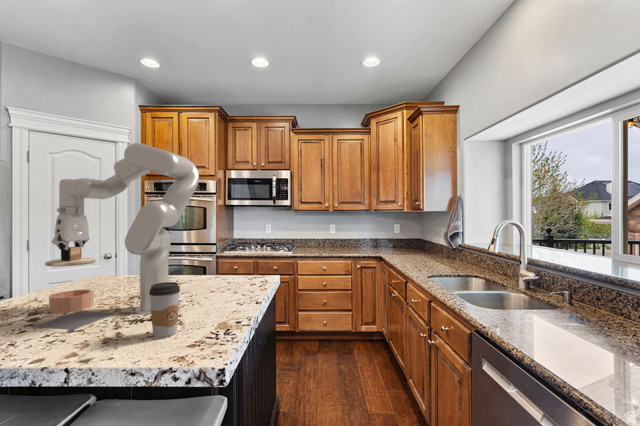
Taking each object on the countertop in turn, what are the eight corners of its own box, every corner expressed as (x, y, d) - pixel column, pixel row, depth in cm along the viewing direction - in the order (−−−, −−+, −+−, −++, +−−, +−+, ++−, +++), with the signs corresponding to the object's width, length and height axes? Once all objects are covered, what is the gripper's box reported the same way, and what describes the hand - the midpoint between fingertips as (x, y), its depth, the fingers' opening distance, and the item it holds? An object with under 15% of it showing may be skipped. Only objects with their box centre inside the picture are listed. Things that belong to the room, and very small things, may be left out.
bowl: (101, 305, 123) (101, 290, 123) (69, 315, 111) (69, 298, 111) (74, 303, 126) (74, 288, 126) (39, 313, 113) (39, 297, 113)
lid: (104, 260, 124) (105, 246, 124) (68, 267, 109) (68, 250, 109) (73, 259, 126) (73, 245, 126) (33, 265, 111) (33, 249, 111)
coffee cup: (159, 342, 87) (159, 289, 87) (143, 336, 91) (143, 285, 91) (186, 332, 94) (185, 283, 94) (170, 327, 98) (169, 280, 98)
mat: (116, 315, 111) (116, 313, 111) (73, 331, 95) (73, 329, 95) (79, 312, 114) (79, 311, 114) (31, 328, 98) (31, 326, 98)
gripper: (57, 211, 109) (57, 262, 109) (99, 211, 125) (99, 256, 125) (40, 211, 110) (39, 262, 110) (83, 211, 127) (83, 256, 126)
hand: (71, 258), depth 118 cm, fingers closed on lid, 4 cm apart
